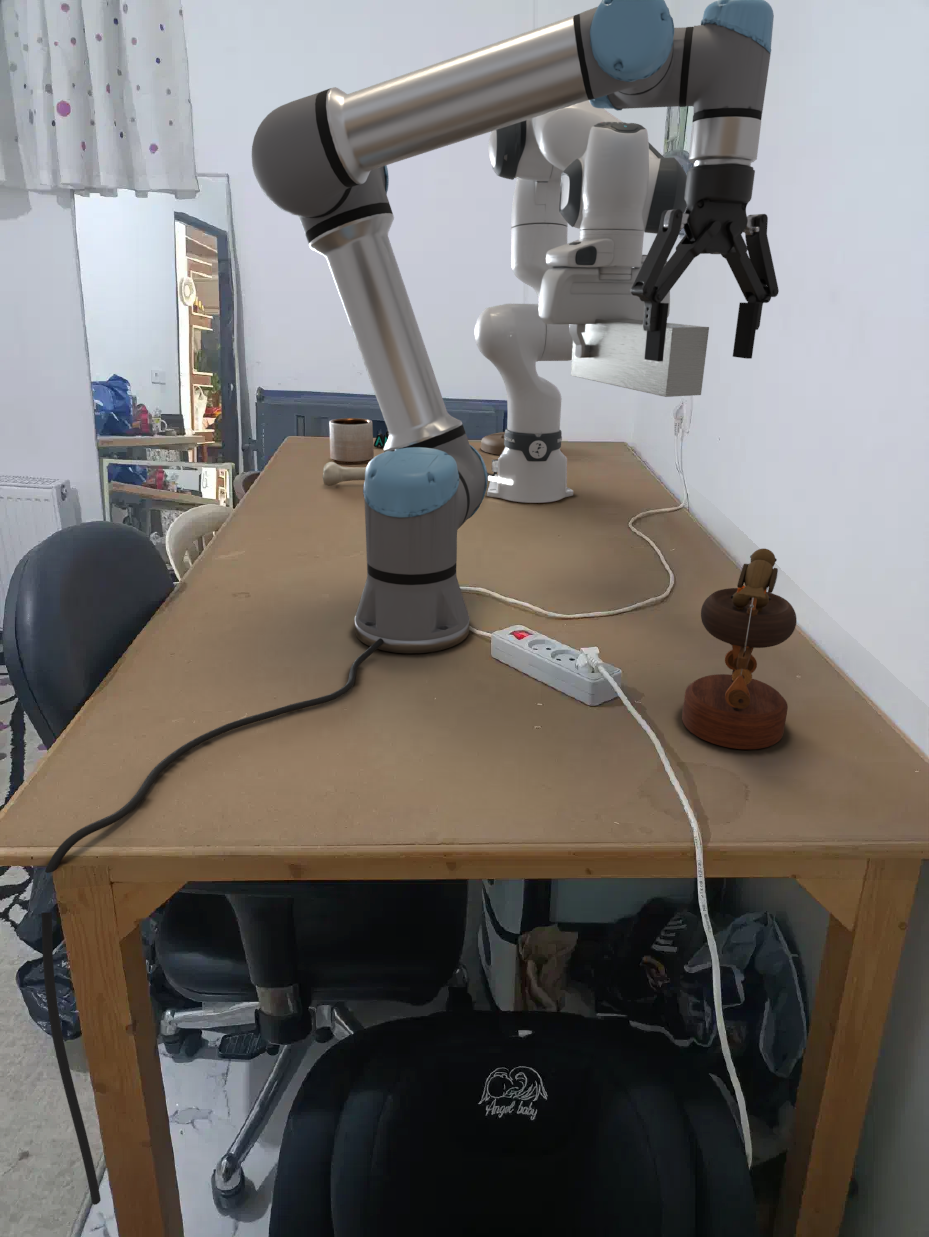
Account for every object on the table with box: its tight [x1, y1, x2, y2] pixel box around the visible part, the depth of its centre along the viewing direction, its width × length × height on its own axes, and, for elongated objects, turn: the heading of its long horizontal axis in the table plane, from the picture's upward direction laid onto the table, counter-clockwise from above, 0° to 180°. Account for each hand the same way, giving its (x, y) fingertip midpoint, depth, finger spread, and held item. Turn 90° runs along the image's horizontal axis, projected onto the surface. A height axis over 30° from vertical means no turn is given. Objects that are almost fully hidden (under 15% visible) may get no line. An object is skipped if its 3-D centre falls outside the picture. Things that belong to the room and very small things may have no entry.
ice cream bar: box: [480, 431, 505, 456], centre depth 223 cm, size 21×28×4 cm
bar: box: [570, 319, 710, 398], centre depth 116 cm, size 24×6×8 cm, turn 24°
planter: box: [328, 417, 375, 464], centre depth 212 cm, size 11×11×10 cm
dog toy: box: [322, 461, 366, 486], centre depth 189 cm, size 20×6×5 cm, turn 99°
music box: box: [681, 548, 797, 750], centre depth 88 cm, size 15×11×20 cm
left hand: (698, 359), depth 105 cm, fingers open, 13 cm apart
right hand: (602, 357), depth 123 cm, fingers closed on bar, 5 cm apart
